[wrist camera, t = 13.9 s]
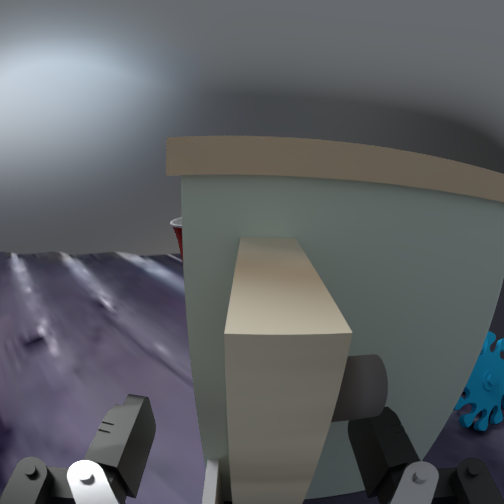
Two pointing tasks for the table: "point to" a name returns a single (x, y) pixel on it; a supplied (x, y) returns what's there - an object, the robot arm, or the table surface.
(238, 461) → the tall wooden plank
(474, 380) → the gear
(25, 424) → the table surface
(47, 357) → the table surface
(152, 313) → the table surface
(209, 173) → the cabinet
